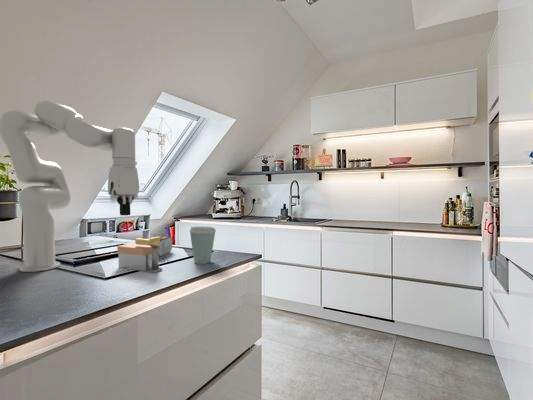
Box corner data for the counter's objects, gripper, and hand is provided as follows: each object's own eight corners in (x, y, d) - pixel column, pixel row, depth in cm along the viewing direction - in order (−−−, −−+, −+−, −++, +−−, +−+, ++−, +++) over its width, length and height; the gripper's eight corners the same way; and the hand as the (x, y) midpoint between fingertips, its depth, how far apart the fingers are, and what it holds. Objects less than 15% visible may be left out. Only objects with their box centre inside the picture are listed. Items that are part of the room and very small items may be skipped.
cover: (117, 252, 117) (117, 246, 117) (130, 249, 123) (130, 243, 123) (142, 255, 112) (142, 248, 112) (154, 252, 117) (154, 245, 117)
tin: (167, 251, 148) (167, 234, 148) (173, 251, 148) (173, 234, 147) (151, 258, 133) (151, 239, 133) (158, 259, 133) (158, 239, 132)
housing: (118, 267, 118) (117, 243, 118) (128, 264, 123) (128, 241, 122) (155, 272, 111) (155, 247, 110) (165, 269, 115) (164, 245, 115)
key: (132, 244, 115) (132, 236, 115) (141, 242, 119) (141, 235, 119) (154, 246, 111) (154, 238, 110) (163, 244, 115) (162, 236, 114)
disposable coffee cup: (197, 258, 133) (197, 224, 133) (220, 260, 130) (220, 225, 130) (184, 264, 123) (184, 227, 122) (209, 266, 120) (208, 228, 120)
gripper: (133, 165, 117) (134, 213, 118) (97, 162, 103) (98, 216, 104) (148, 164, 114) (149, 213, 115) (113, 161, 100) (114, 217, 101)
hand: (125, 215), depth 109 cm, fingers closed
